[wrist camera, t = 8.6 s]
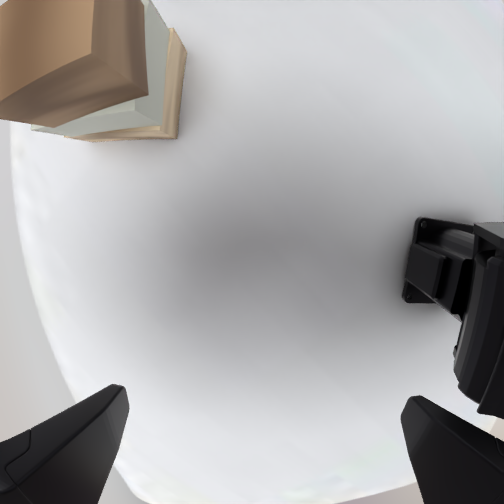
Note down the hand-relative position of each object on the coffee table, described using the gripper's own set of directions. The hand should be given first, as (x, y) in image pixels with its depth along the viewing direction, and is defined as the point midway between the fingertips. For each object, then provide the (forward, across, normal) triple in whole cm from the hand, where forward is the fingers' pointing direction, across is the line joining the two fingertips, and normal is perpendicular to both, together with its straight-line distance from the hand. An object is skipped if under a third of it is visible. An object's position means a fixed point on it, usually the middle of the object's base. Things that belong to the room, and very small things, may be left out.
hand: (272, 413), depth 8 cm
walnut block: (+5, +9, -12) cm, 15 cm away
